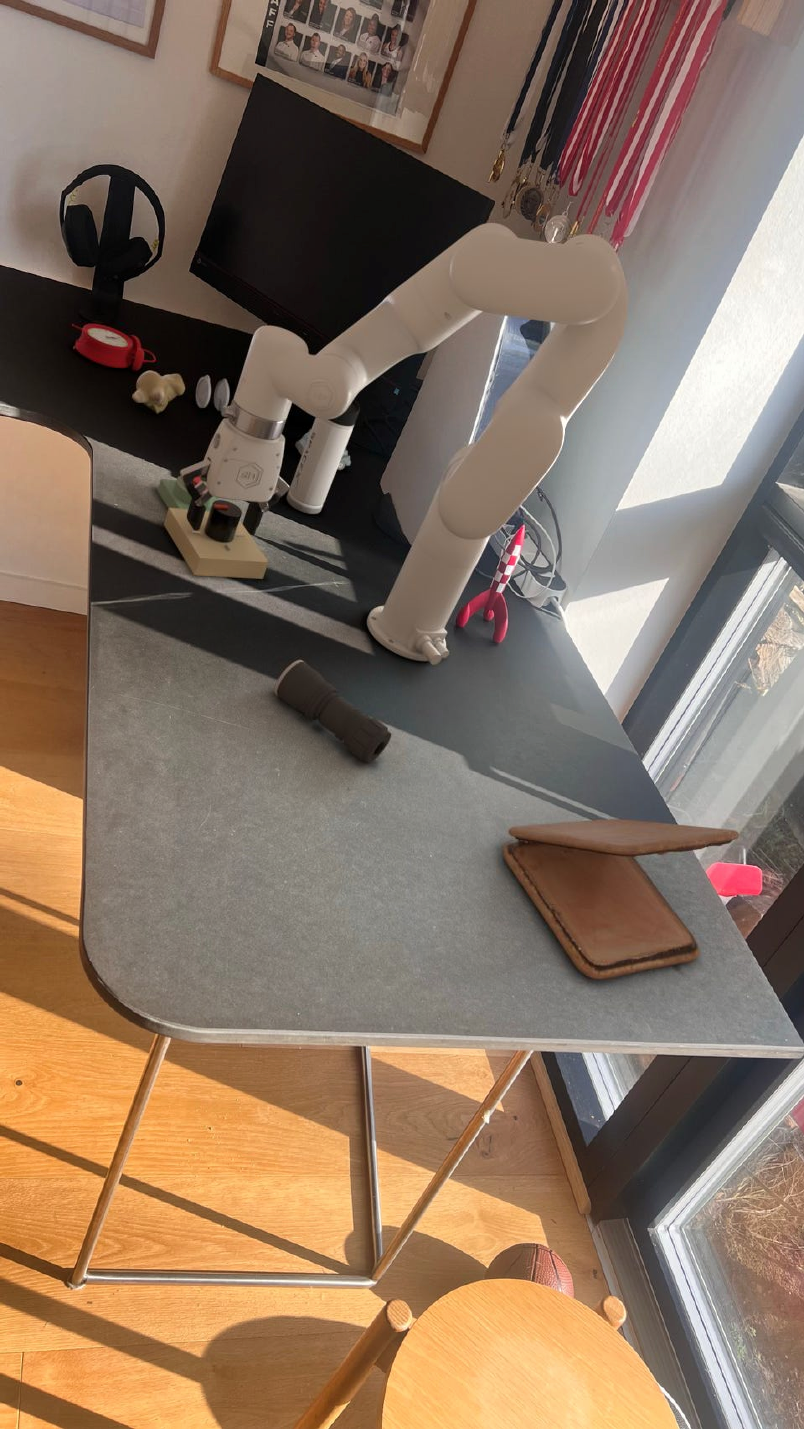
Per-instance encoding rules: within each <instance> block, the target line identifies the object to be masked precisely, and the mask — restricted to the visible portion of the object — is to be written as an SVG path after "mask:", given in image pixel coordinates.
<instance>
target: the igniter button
mask: <svg viewBox="0 0 804 1429" xmlns="http://www.w3.org/2000/svg"><path fill="white" fill-rule="evenodd" d="M201 481H202V480H201V479H200V476H199V477H196V478H195V479H194V480H193V482H194V486H196V485H197V484H198V483H199V482H201ZM204 491H205V490H204ZM204 491H203V492H204ZM203 492H202V493H203Z"/></svg>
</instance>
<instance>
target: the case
mask: <svg viewBox="0 0 804 1429" xmlns="http://www.w3.org/2000/svg"><path fill="white" fill-rule="evenodd" d="M508 835H509V836H510V837H513V838H515V839H516V840H510V841H508V842H506V843H505V844H504V845H503V847H502V856H503V859H504V860H505V862H506V863H507V865H508V866H509V868H510V870H511V871H512V872H513V874H514V876H515V877H516V879H517V880H518V882H519V883H520V884H521V885H522V887H523V889H524V890H525V892H526V893H527V895H528V896H529V898H530V899H531V901H532V902H533V904H534V905H535V907H536V909H537V910H538V911H539V913H540V914H541V916H542V917H543V919H544V920H545V922H546V923H547V925H548V926H549V928H550V929H551V931H552V932H553V934H554V935H555V937H556V938H557V940H558V942H559V943H560V945H561V947H562V948H563V949H564V951H565V952H566V954H567V956H568V957H569V959H570V960H571V962H572V963H573V965H574V966H575V968H576V969H577V970H578V971H579V972H581V973H582V974H583V975H584V976H586V977H588V978H590V979H594V980H608V979H613V978H617V977H622V976H626V975H630V974H634V973H638V972H639V973H640V972H643V971H648V970H654V969H659V968H660V969H661V968H664V967H670V966H675V965H681V964H686V963H692V962H693V961H695V960H696V959H697V958H698V957H699V956H700V948H699V944H698V942H697V940H696V939H695V937H694V936H693V934H692V933H691V931H690V930H689V929H688V928H687V926H686V925H685V924H684V923H683V921H682V920H681V918H680V917H679V916H678V914H677V913H676V912H675V910H674V909H673V908H672V907H671V905H670V904H669V902H668V901H667V900H666V898H665V897H664V895H662V893H661V892H660V890H659V888H658V887H657V886H656V885H655V883H654V882H653V880H652V879H651V878H650V876H649V875H648V874H647V872H646V871H645V870H644V869H643V868H642V866H641V864H640V863H639V862H638V860H637V859H636V857H640V856H649V855H650V856H651V855H658V856H665V855H666V854H668V853H683V852H690V851H692V852H693V851H697V850H702V849H705V848H709V847H722V846H724V845H727V844H728V845H729V844H731V843H732V842H733V841H735V840H737V839H738V838H739V837H740V833H739V832H738V831H737V830H734V829H729V828H728V829H726V828H717V827H707V826H695V825H687V824H686V825H685V824H676V823H665V822H658V821H657V822H655V821H646V820H634V819H626V818H625V819H623V818H621V819H620V818H609V819H592V820H581V821H580V820H579V821H570V822H568V821H567V822H553V823H543V824H541V823H540V824H529V825H519V826H512V827H510V828H509V829H508Z"/></svg>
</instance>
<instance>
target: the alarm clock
mask: <svg viewBox="0 0 804 1429" xmlns="http://www.w3.org/2000/svg"><path fill="white" fill-rule="evenodd" d="M71 326H72V327H74V328H76V329H77V330H80V331H81V334H80V336H79V338H78V339H76V340H75V344H74V345H73V347H72V349H73V350H76V351H77V352H78V353H79V354H81V355H82V356H83V357H85V358H86V359H88V360H90V361H92V362H94V363H97V364H99V365H103V366H105V367H109V368H110V367H111V368H116V369H127V368H129V367H131V366H132V367H131V371H135V372H136V371H139V370H140V369H141V368H142V366H143V363H155V362H156V356H155V355H154V353H153V352H151V351H150V350H147V349H145V348H142V344H141V341H140V339H139V338H138V337H137V336H136V335H132V334H130V335H126V334H125V333H124V332H122V331H120V330H117V329H116V328H113V327H110V326H106V325H105V324H104V325H103V324H98V323H88V324H87V323H86V324H84V325H83V327H80V326H77V325H75V323H72V324H71ZM145 352H146V353H148V354H150V355H151V356H152V358H153V360H147V359H145Z"/></svg>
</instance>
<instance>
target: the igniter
mask: <svg viewBox="0 0 804 1429" xmlns="http://www.w3.org/2000/svg"><path fill="white" fill-rule="evenodd" d="M157 493H158V495H159V496H160V497H161V499H162V501H163V502H164V504H165V506H166V507H167V510H168V509H169V508H178V509H189V505H190V502H191V499H192V497H191V496H190V494H189V493H188V492H187V490H186V488H185V487H184V484H183V481H182V478H181V475H180V476H177V478H176V479H167V478H160V480H159V484H158V489H157ZM201 494H202V493H201ZM201 494H200V495H201ZM216 500H219V498H217V497H214V496H213V497H211V498H210V499H209V500H208V501H207V502H206V503H205V504H204V506H205V507H206V511H210V510H211V506H212V503H213V502H214V501H216Z"/></svg>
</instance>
